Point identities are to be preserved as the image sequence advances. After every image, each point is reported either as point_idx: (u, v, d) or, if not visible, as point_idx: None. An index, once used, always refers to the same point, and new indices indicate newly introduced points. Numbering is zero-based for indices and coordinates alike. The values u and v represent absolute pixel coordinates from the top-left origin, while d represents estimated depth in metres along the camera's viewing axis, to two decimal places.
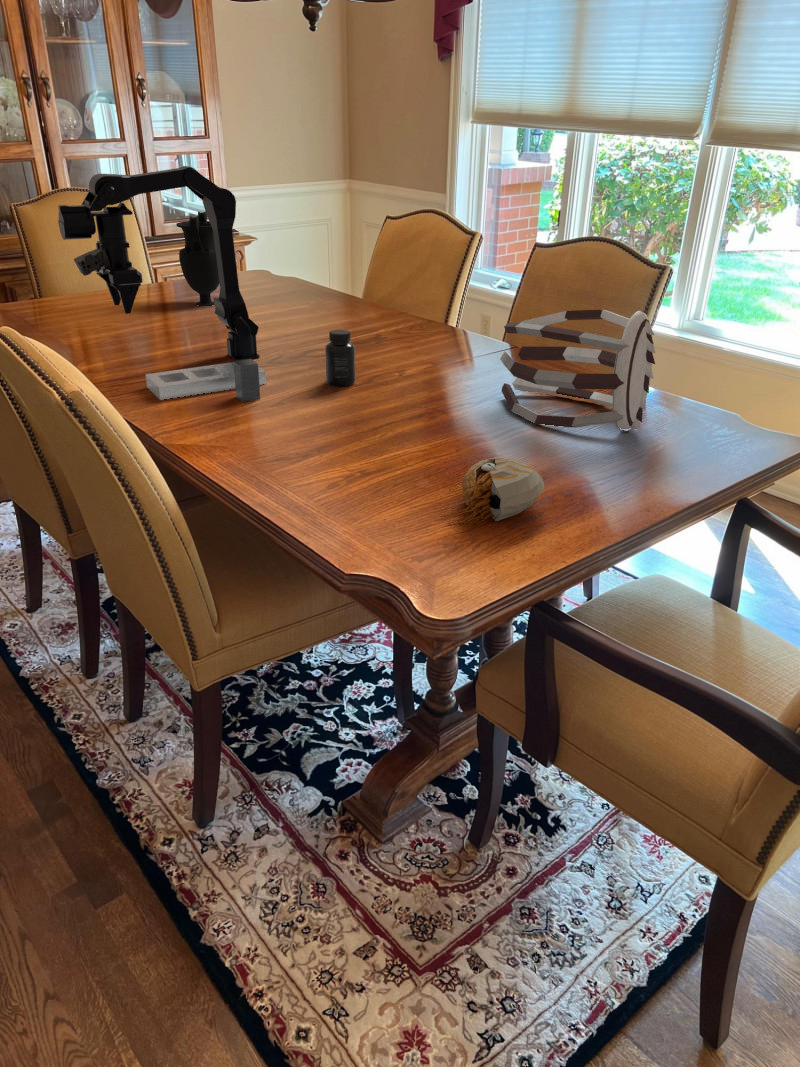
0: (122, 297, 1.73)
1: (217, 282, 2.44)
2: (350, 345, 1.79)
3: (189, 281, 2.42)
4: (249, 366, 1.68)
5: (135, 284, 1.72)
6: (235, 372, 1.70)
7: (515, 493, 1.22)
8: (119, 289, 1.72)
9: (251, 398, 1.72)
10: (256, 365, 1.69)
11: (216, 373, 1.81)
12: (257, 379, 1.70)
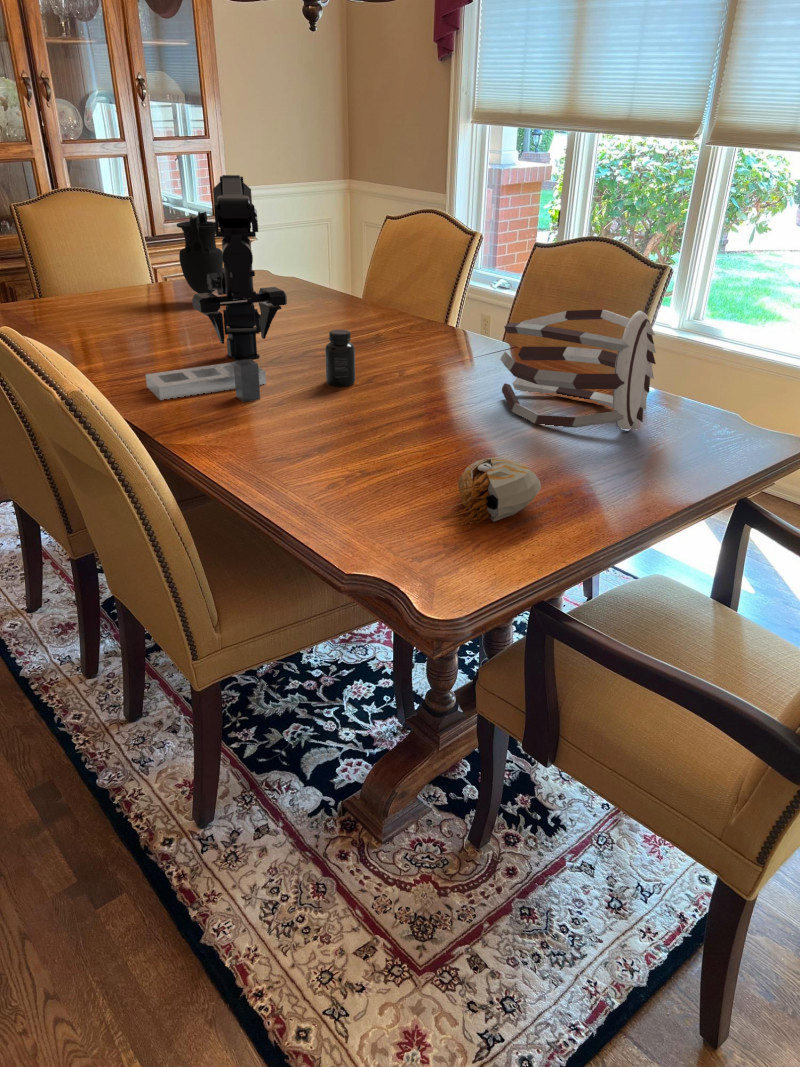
0: (213, 324, 1.63)
1: None
2: (350, 345, 1.79)
3: (189, 281, 2.42)
4: (249, 366, 1.68)
5: (206, 313, 1.59)
6: (235, 372, 1.70)
7: (512, 493, 1.22)
8: None
9: (251, 398, 1.72)
10: (256, 365, 1.69)
11: (216, 373, 1.81)
12: (257, 379, 1.70)
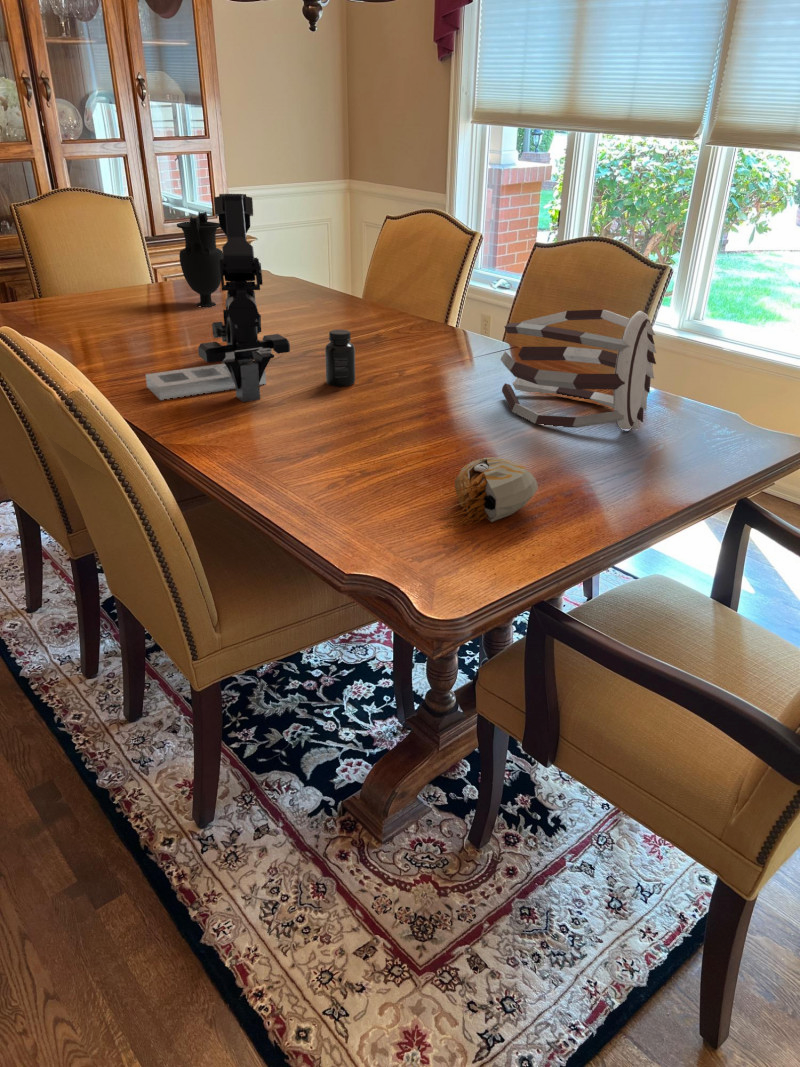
0: (229, 370, 1.69)
1: (217, 283, 2.43)
2: (350, 345, 1.79)
3: (189, 282, 2.41)
4: (249, 366, 1.68)
5: (223, 361, 1.65)
6: None
7: (510, 493, 1.22)
8: None
9: (251, 398, 1.72)
10: (256, 365, 1.69)
11: (216, 373, 1.81)
12: (257, 379, 1.70)
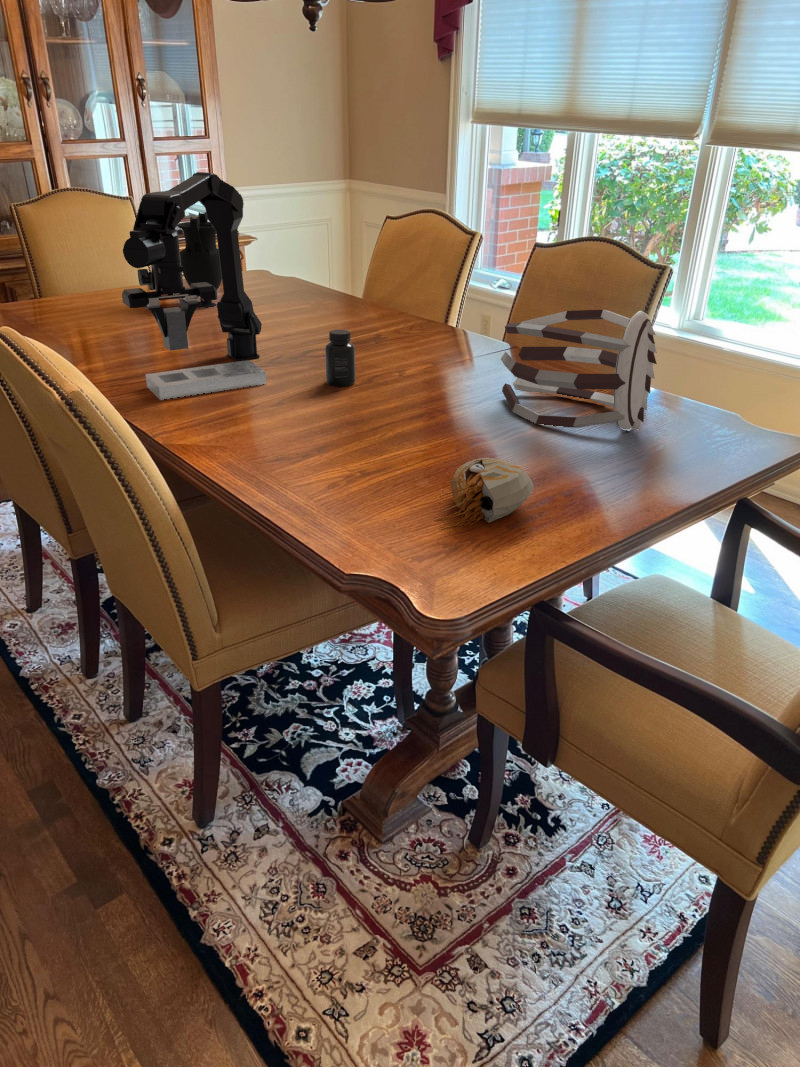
0: (155, 318, 1.67)
1: (218, 283, 2.43)
2: (350, 345, 1.79)
3: (190, 282, 2.41)
4: (175, 313, 1.66)
5: (147, 307, 1.63)
6: None
7: (507, 493, 1.21)
8: None
9: (179, 347, 1.69)
10: (182, 312, 1.67)
11: (216, 373, 1.81)
12: (184, 327, 1.68)
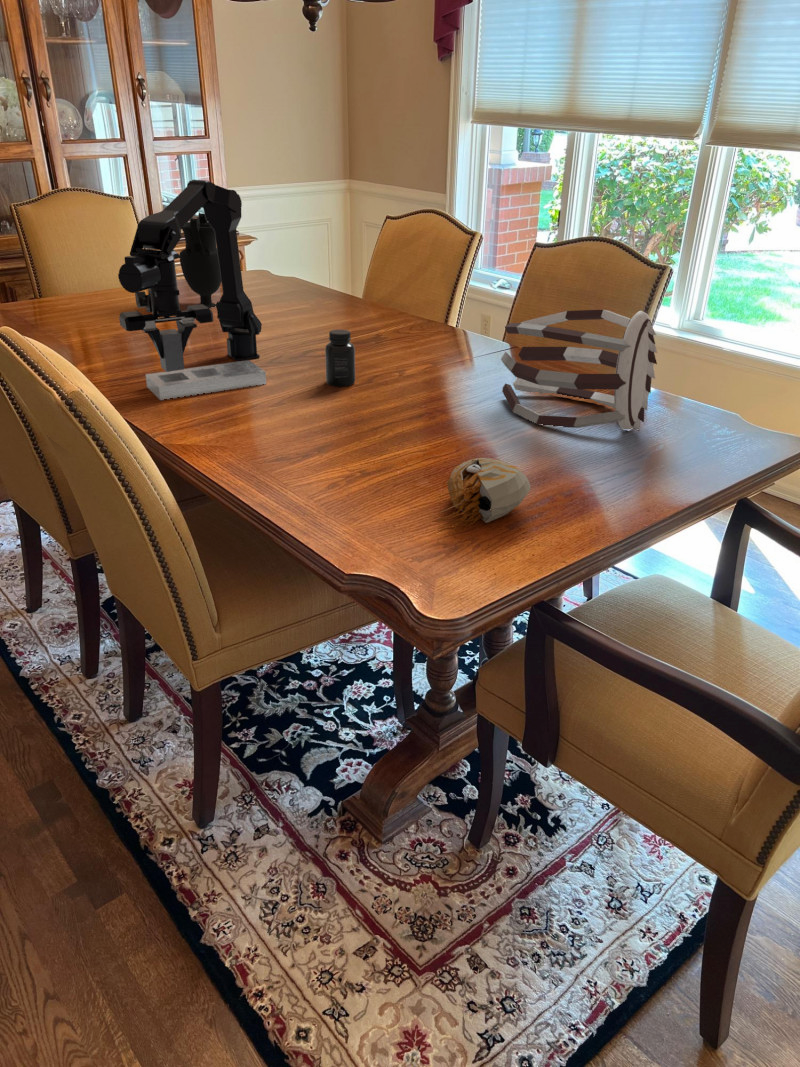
0: None
1: (218, 284, 2.42)
2: (350, 345, 1.79)
3: (190, 283, 2.40)
4: (171, 335, 1.69)
5: (144, 330, 1.65)
6: None
7: (505, 493, 1.21)
8: None
9: (175, 368, 1.72)
10: (179, 335, 1.69)
11: (216, 373, 1.81)
12: (180, 349, 1.71)
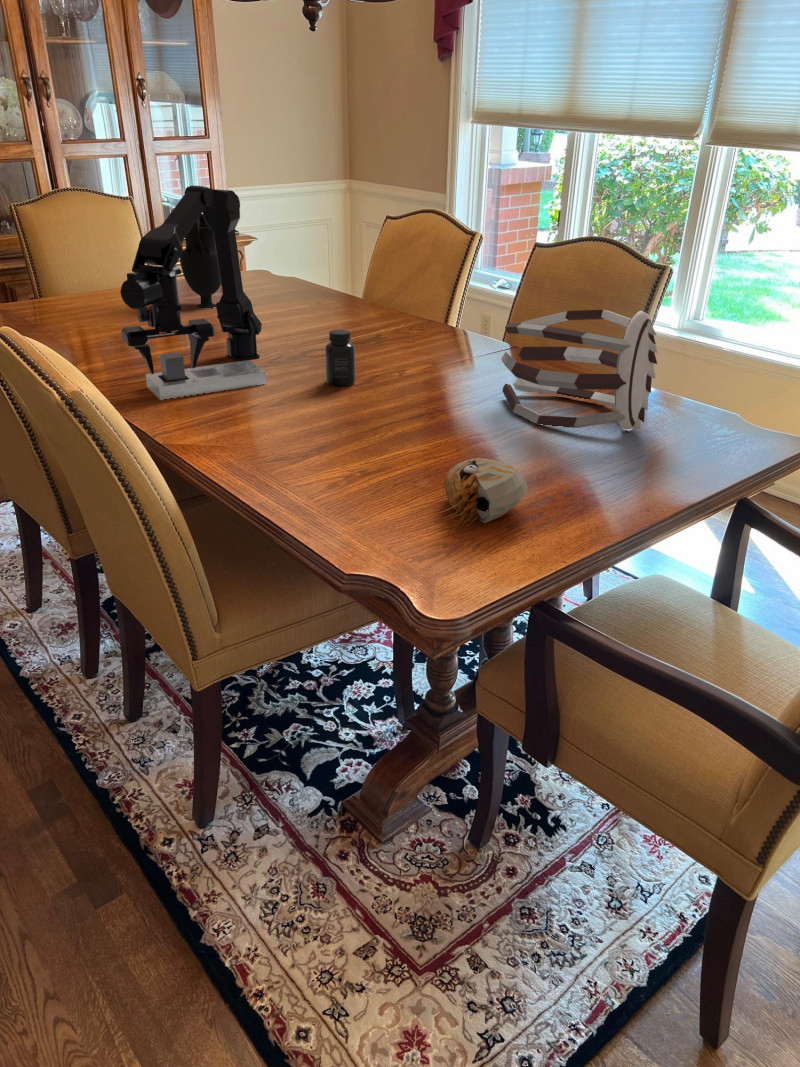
0: (142, 355, 1.70)
1: (218, 284, 2.42)
2: (350, 345, 1.79)
3: (190, 283, 2.40)
4: (174, 359, 1.71)
5: (134, 346, 1.66)
6: (161, 365, 1.73)
7: (503, 494, 1.21)
8: None
9: None
10: (181, 358, 1.72)
11: (216, 373, 1.81)
12: (183, 372, 1.73)
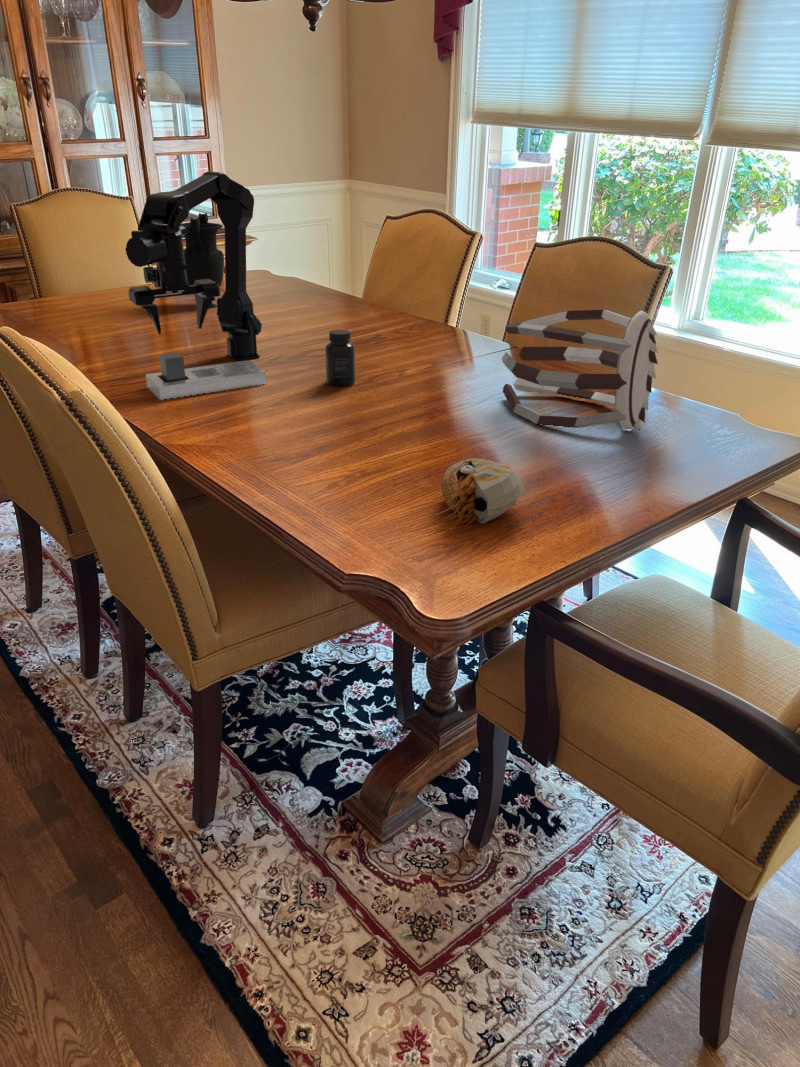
0: (149, 315, 1.72)
1: (218, 284, 2.41)
2: (350, 345, 1.79)
3: (190, 283, 2.39)
4: (174, 359, 1.71)
5: (141, 306, 1.67)
6: (161, 365, 1.73)
7: (500, 494, 1.21)
8: None
9: None
10: (181, 358, 1.72)
11: (216, 373, 1.81)
12: (183, 372, 1.73)
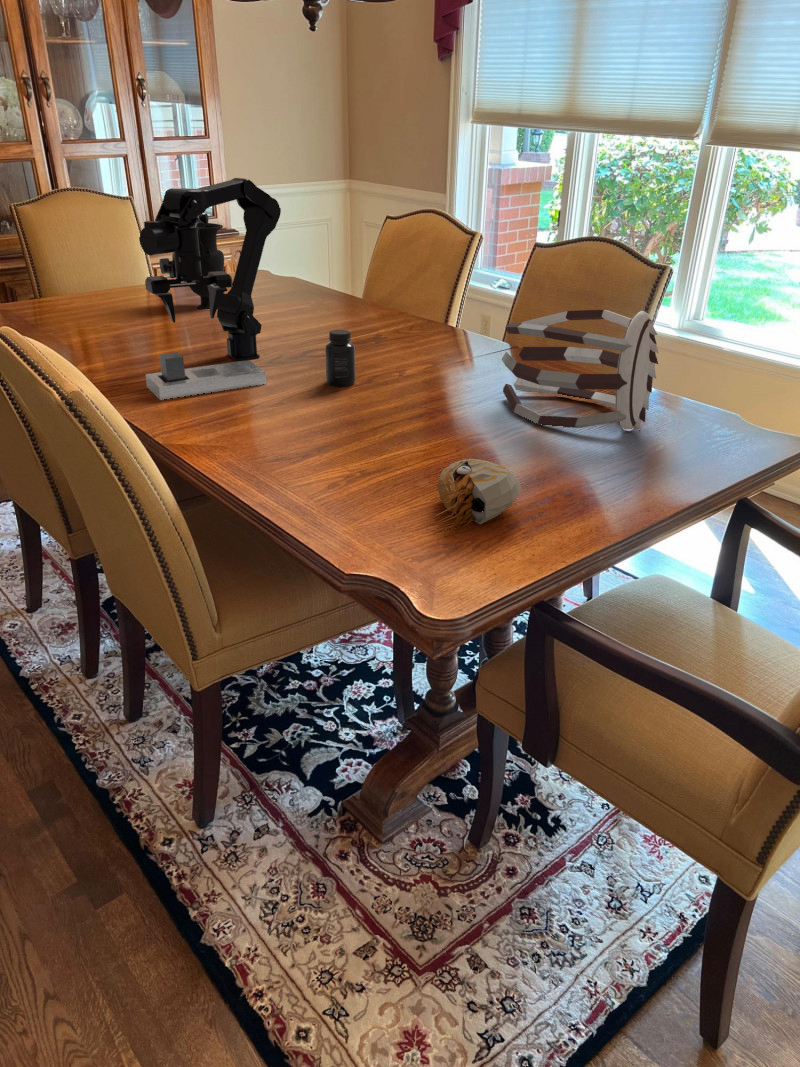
0: (164, 304, 1.80)
1: None
2: (350, 345, 1.79)
3: None
4: (174, 359, 1.71)
5: (157, 294, 1.75)
6: (161, 365, 1.73)
7: (498, 494, 1.21)
8: None
9: None
10: (181, 358, 1.72)
11: (216, 373, 1.81)
12: (183, 372, 1.73)
